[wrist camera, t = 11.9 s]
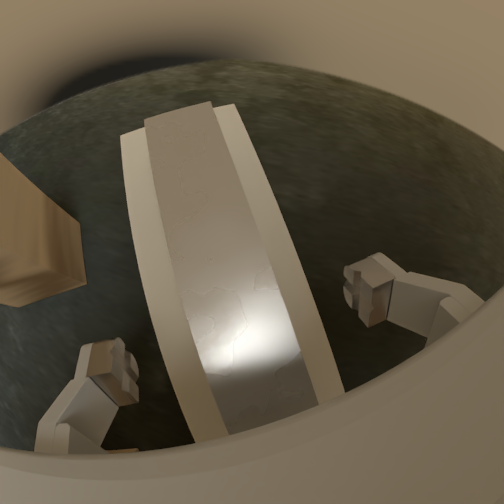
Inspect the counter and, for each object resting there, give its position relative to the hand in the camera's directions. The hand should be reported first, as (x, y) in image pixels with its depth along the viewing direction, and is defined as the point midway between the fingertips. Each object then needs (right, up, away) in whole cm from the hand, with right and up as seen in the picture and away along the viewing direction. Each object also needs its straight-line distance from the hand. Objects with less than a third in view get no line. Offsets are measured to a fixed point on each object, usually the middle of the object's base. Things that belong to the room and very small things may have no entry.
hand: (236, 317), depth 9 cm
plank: (0, -2, +5) cm, 5 cm away
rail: (0, -2, +4) cm, 4 cm away
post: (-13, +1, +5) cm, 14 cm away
